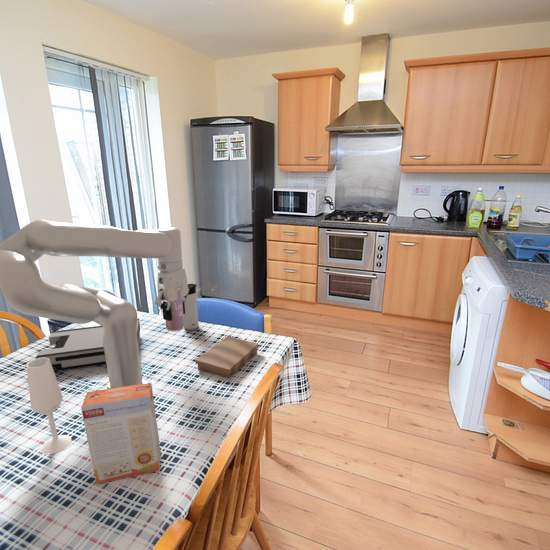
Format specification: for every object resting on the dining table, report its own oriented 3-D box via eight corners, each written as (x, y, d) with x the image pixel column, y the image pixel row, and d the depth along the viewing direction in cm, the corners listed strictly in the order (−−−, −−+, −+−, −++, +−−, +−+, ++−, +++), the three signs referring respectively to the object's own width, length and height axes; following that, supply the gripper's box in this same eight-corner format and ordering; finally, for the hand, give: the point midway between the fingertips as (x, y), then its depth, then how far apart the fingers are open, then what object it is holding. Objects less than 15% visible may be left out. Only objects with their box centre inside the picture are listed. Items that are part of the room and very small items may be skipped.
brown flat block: (229, 380, 120) (229, 369, 119) (196, 369, 126) (195, 359, 125) (258, 353, 137) (258, 343, 136) (228, 345, 144) (227, 336, 142)
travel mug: (197, 331, 156) (194, 287, 150) (182, 331, 156) (178, 287, 150) (201, 324, 161) (197, 282, 155) (186, 324, 162) (182, 282, 156)
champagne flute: (43, 439, 95) (24, 358, 88) (72, 432, 98) (56, 353, 90) (39, 457, 89) (18, 372, 82) (70, 449, 92) (52, 366, 85)
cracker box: (161, 453, 90) (152, 380, 84) (160, 472, 85) (150, 396, 79) (100, 464, 87) (86, 389, 81) (95, 485, 82) (80, 406, 75)
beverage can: (177, 323, 129) (174, 283, 124) (187, 328, 125) (185, 286, 121) (162, 328, 124) (159, 287, 120) (173, 333, 121) (170, 291, 116)
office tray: (55, 347, 143) (51, 328, 141) (141, 336, 152) (139, 318, 149) (39, 375, 124) (34, 354, 122) (138, 361, 133) (135, 341, 130)
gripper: (160, 273, 109) (164, 328, 114) (196, 261, 124) (199, 310, 129) (142, 270, 112) (147, 323, 118) (179, 258, 127) (182, 306, 132)
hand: (174, 316), depth 123 cm, fingers closed on beverage can, 6 cm apart
